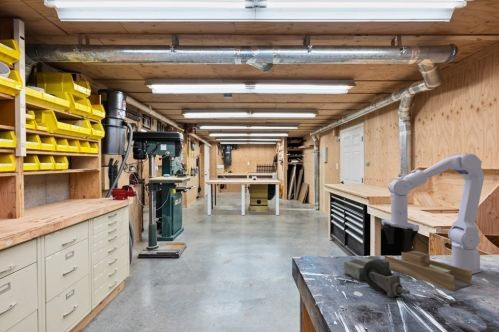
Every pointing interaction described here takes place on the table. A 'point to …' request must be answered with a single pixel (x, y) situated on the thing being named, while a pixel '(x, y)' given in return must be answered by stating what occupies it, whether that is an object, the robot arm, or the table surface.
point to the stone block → (359, 267)
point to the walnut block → (417, 258)
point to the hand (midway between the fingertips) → (399, 246)
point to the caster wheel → (383, 278)
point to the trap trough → (433, 273)
